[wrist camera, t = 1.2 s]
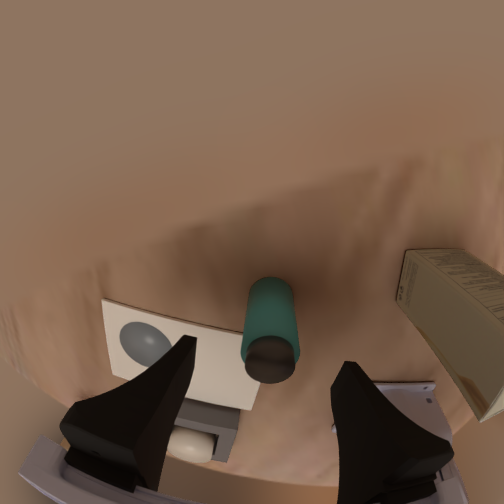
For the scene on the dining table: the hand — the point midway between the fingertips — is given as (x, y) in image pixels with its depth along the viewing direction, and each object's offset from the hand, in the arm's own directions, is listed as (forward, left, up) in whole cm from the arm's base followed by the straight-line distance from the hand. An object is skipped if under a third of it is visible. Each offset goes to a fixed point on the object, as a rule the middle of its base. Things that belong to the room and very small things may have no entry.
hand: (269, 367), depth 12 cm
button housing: (+4, +17, -7) cm, 19 cm away
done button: (+4, +17, -6) cm, 18 cm away
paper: (+6, +8, -7) cm, 12 cm away
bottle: (0, 0, -7) cm, 7 cm away
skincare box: (-12, -4, -7) cm, 15 cm away
